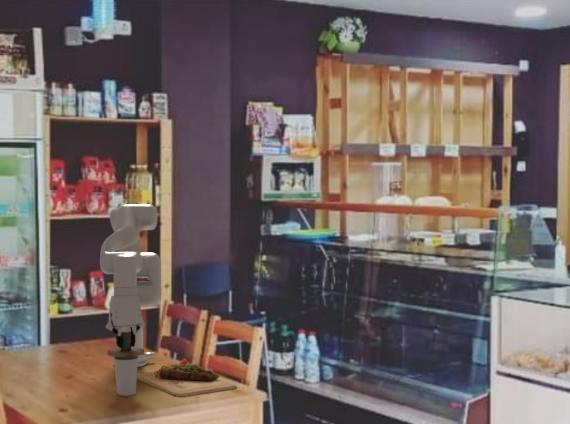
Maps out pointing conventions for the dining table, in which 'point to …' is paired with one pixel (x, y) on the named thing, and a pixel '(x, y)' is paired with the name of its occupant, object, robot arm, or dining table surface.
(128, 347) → the lid
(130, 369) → the cup
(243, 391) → the dining table surface
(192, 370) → the cutting board
